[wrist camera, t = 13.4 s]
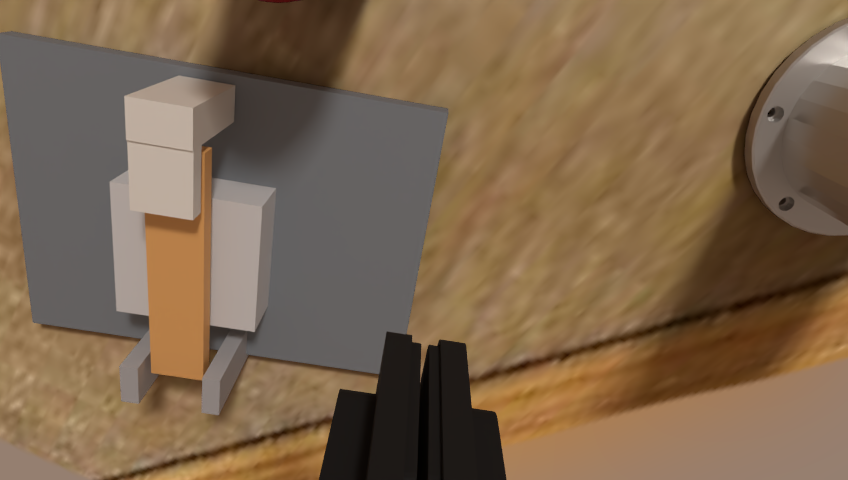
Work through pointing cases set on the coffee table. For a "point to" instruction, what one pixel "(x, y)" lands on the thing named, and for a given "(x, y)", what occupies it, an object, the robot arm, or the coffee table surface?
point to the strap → (180, 286)
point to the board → (266, 143)
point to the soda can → (278, 1)
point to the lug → (173, 142)
